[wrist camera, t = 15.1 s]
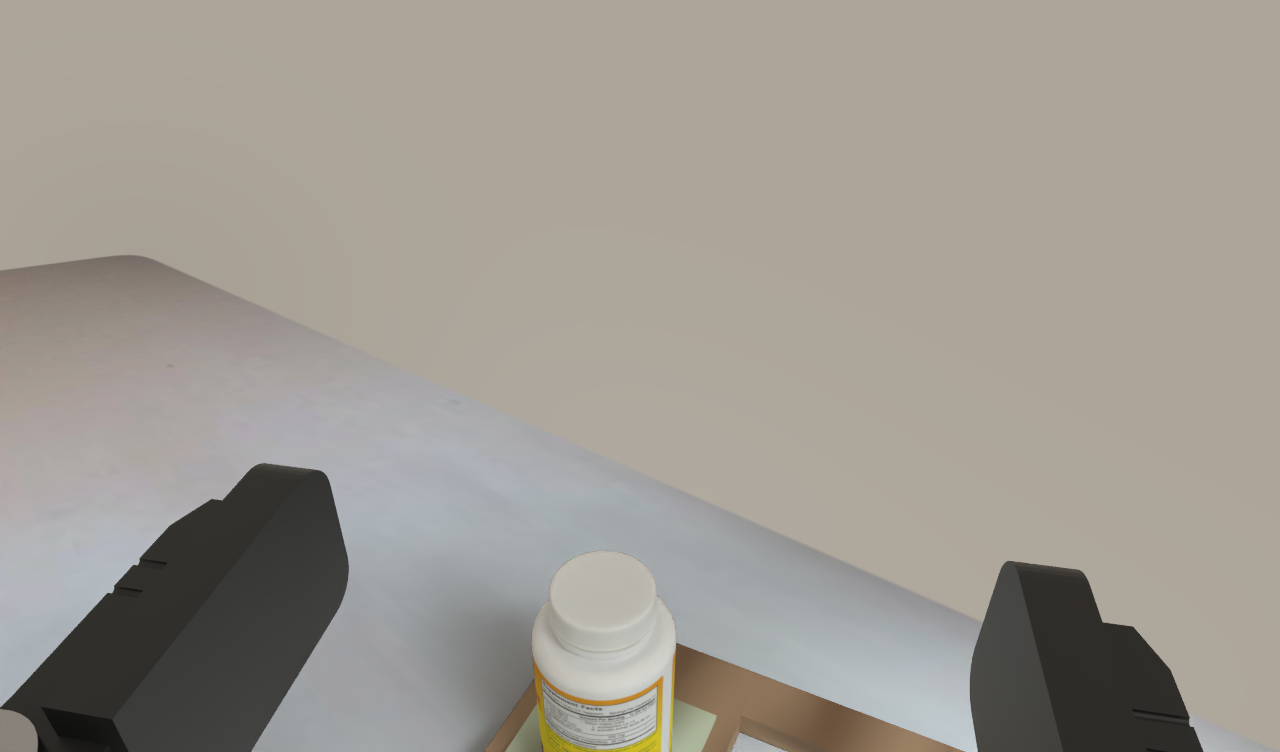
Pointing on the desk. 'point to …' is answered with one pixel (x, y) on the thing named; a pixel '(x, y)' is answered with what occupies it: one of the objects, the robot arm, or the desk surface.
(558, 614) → the supplement bottle
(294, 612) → the robot arm
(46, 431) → the desk surface
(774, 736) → the puzzle board
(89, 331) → the desk surface
